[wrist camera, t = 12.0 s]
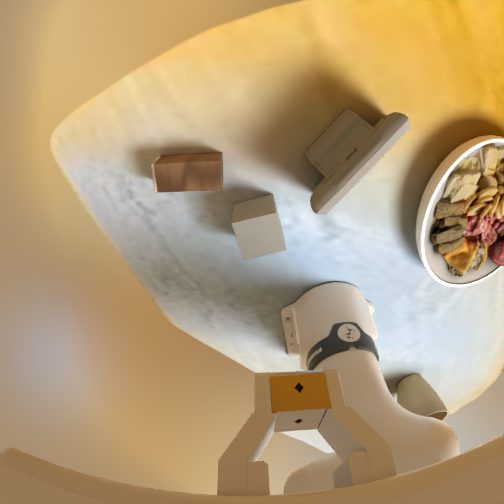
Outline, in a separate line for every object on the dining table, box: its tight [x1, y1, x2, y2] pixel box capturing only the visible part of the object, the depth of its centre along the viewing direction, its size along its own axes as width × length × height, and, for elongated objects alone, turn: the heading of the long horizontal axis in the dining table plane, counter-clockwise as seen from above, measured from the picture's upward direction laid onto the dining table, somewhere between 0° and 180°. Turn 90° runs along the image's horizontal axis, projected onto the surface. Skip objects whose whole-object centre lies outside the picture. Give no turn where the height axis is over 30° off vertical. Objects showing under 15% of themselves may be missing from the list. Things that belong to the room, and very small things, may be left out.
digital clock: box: [305, 108, 410, 214], centre depth 36 cm, size 16×9×11 cm, turn 130°
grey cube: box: [231, 194, 286, 260], centre depth 44 cm, size 6×6×6 cm
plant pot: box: [397, 374, 448, 421], centre depth 70 cm, size 15×15×16 cm
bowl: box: [416, 135, 504, 287], centre depth 42 cm, size 30×30×8 cm
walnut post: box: [151, 153, 223, 193], centre depth 40 cm, size 4×4×9 cm
